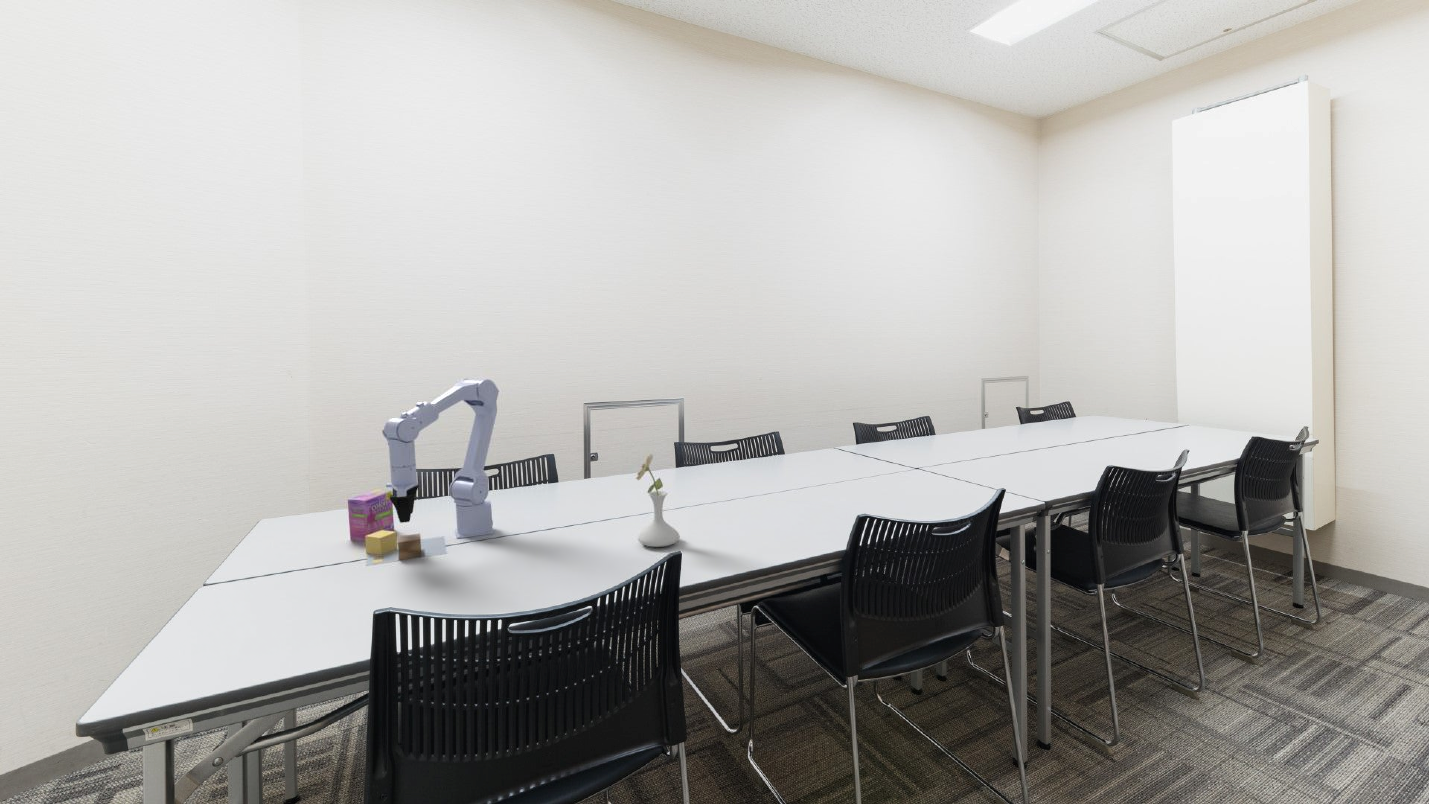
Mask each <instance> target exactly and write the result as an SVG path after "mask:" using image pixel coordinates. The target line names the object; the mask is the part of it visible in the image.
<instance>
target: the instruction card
mask: <svg viewBox="0 0 1429 804" xmlns="http://www.w3.org/2000/svg"><path fill="white" fill-rule="evenodd" d="M445 539H446V538H445V536H444V535H443V536H436V537H430V538H429V537H428V538H422V539H421V557H414V558H408V559H401V560H399V550H398V542H397V549H395V550H392V551H390V552H388V553H385V554H383V555H377V554H370V553H367V554H368V555H367V559H366V563H365V566H366V567H368V566H375V565H380V564H386V563H395V562H400V561H402V562H403V561H407V560H415V559H420V558H428V557H433V556H440V555H446V554H447V549H446V547H447V546H446V540H445Z"/></svg>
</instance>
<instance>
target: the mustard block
mask: <svg viewBox="0 0 1429 804" xmlns="http://www.w3.org/2000/svg"><path fill="white" fill-rule="evenodd" d="M397 537H398V536H397V531H393V530H392V531H385V530H381V531H378V532H375V533H372V534H370V535H367V536H365V540H366V541H365V552H366V554H369V553H370V554H377V555H383V554H385V553H388V552H390V551H392V550H395V549H397V543H398V538H397Z"/></svg>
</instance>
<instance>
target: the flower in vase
mask: <svg viewBox="0 0 1429 804" xmlns="http://www.w3.org/2000/svg"><path fill="white" fill-rule="evenodd" d="M653 457H654V455H653V454H652V453H651V454H649V455H648V456H647V458H646V460H645V463H642V465H641V469H640V470H639V471H638V472H637V474H636V475H637V476H636V477H635V479H636V480H637V481H640V480H641V479H642V477H643V476H644V475H645V473H646V472H648V473H649V474H650V476H651V478H652V480H653V483H652V484H651V485H650V486H649V488H648V490H647V492H646V493H647V494H648V496H649V497H650V498H651V501H652V503H653V519H652V521H651V522H650V523H649V524H648V525H646V527H644V528H643V529H642V530H641V531H640V532H639V534H638V535H637V538H636V539H637V540H638V542H639V543H640V544H642V545H644V546H647V547H652V548H653V547H655V548H659V547H660V548H661V547H667V546H671V545H673V544H675V543H677V542H678V541H679V540H680V538H681V536H680V533H679V532H678V531H677V530H676V529H675V528H674V527H672V525H670V524H669V523H668V522H666V521H665V520H664V516H663V507H664V506H663V505H664V501H665V498H666V496H667V495H668V492H666V491H663V490H660V489H661V488H664V487H663V486H664V484H663V481H662V480H661V478H660V477H659V478H658V479H656V480H655V478H654V475H653V472H652V471H651V470H650V464H651V462H652V461H653ZM654 489H655V490H654ZM653 490H654V491H653Z"/></svg>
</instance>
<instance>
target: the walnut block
mask: <svg viewBox="0 0 1429 804" xmlns="http://www.w3.org/2000/svg"><path fill="white" fill-rule="evenodd" d="M397 537H398V538H397V543H398V550H399V560H401V559H408V558H414V557H421V533H413V534H406V535H401V536H397ZM421 558H422V557H421ZM408 560H409V559H408Z"/></svg>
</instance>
